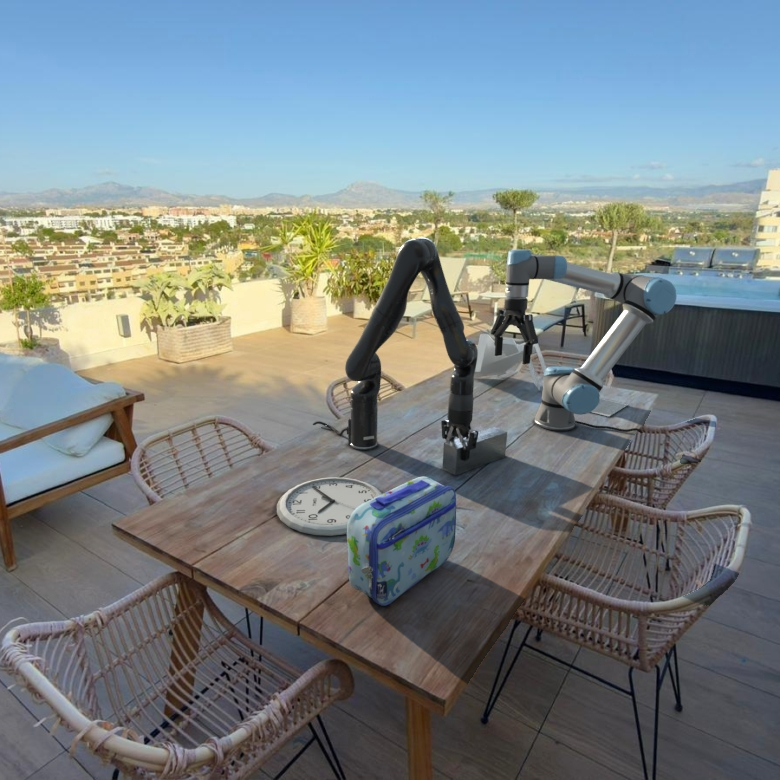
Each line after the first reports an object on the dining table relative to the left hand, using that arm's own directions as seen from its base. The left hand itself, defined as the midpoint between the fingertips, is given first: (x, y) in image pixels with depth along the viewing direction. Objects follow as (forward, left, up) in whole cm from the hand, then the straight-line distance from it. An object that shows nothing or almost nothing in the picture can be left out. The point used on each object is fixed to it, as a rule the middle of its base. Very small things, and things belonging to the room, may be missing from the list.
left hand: (457, 456), depth 164 cm
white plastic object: (-19, +99, -5) cm, 101 cm away
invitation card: (+28, +90, -5) cm, 95 cm away
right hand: (+5, +32, +25) cm, 41 cm away
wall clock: (-20, -39, -5) cm, 44 cm away
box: (+3, +8, -5) cm, 9 cm away
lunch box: (+12, -56, -5) cm, 57 cm away
